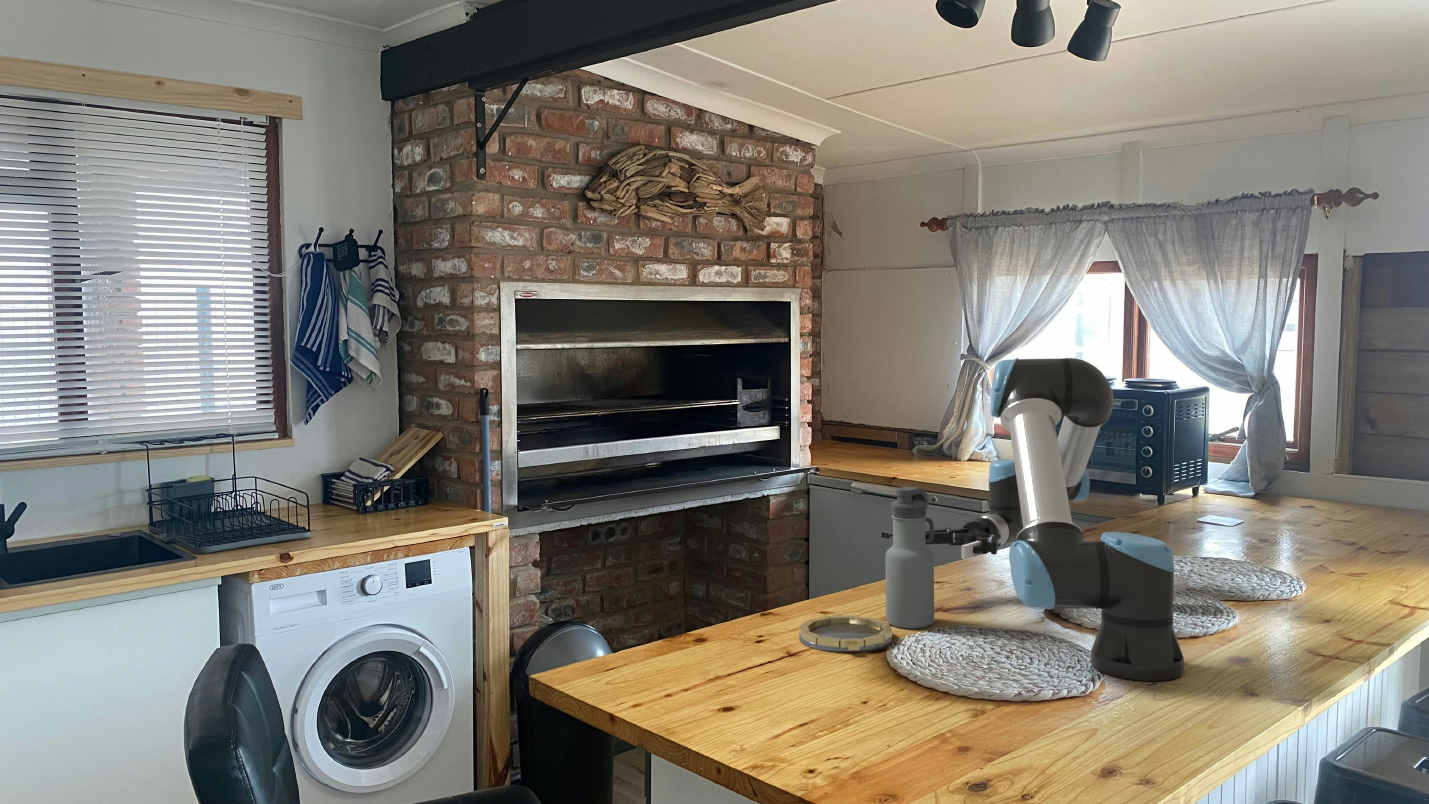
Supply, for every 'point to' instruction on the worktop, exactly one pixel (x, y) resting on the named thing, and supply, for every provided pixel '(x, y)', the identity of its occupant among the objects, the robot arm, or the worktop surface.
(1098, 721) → the worktop surface
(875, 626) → the collar
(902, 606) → the water bottle
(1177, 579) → the showerhead
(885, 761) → the worktop surface
